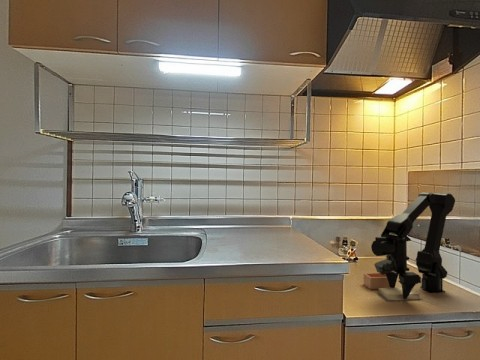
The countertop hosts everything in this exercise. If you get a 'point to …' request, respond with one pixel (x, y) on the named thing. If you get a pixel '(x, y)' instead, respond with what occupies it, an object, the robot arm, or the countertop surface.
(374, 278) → the open box
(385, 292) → the beige block on tray
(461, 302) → the countertop surface
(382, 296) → the mat
